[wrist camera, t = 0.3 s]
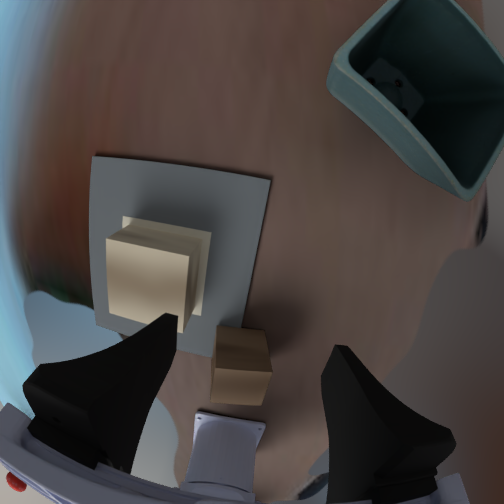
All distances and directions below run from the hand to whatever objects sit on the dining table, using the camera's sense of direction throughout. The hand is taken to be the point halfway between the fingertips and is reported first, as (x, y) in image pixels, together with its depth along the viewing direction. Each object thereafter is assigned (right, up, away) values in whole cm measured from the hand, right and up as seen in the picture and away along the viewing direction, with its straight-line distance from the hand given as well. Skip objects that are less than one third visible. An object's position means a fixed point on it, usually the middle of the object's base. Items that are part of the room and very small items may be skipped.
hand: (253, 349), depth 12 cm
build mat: (-7, +3, +10) cm, 12 cm away
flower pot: (+9, +15, +4) cm, 19 cm away
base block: (-7, +3, +9) cm, 12 cm away
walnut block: (-1, -4, +11) cm, 12 cm away
